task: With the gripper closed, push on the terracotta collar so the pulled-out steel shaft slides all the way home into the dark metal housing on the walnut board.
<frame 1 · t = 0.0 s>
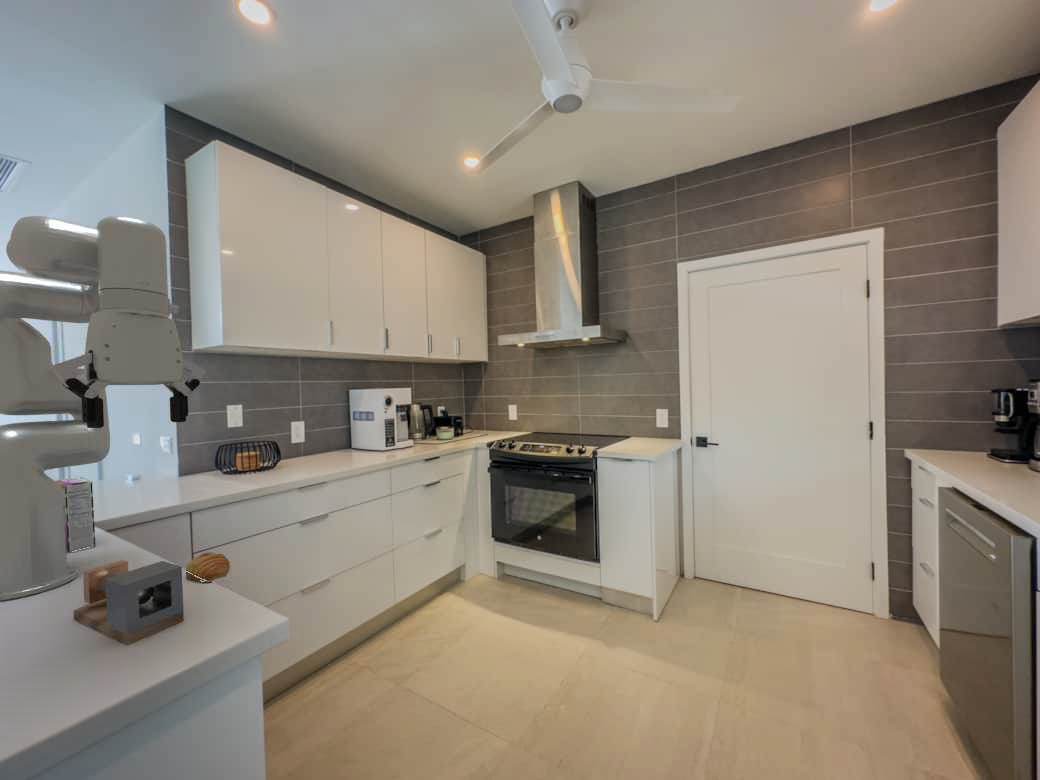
hand: (139, 424, 62), 31 cm above the counter, tool pointing down, fingers open, 9 cm apart
shaft frame: (131, 621, 67), on the counter
shaft: (122, 586, 69), point 5 cm above the counter, slide at 4.0 cm
pastry: (210, 576, 85), on the counter
candy bar box: (76, 547, 105), on the counter
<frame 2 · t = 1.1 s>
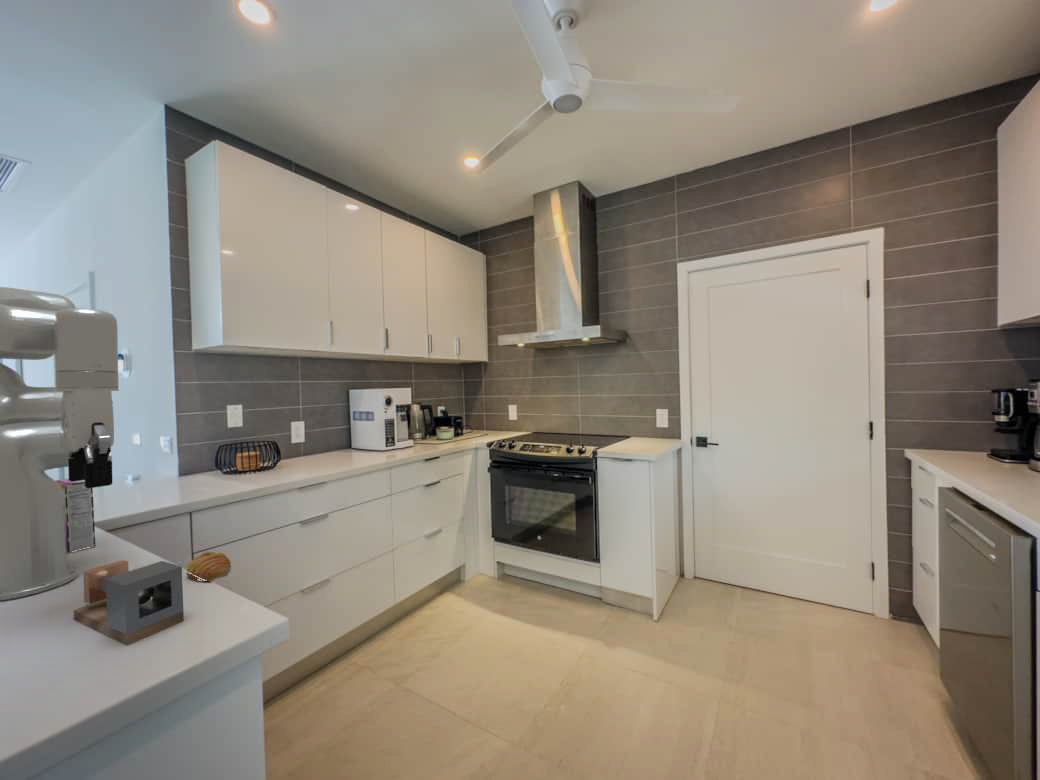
hand: (90, 483, 73), 21 cm above the counter, tool pointing down, fingers open, 9 cm apart
nothing on the counter moved.
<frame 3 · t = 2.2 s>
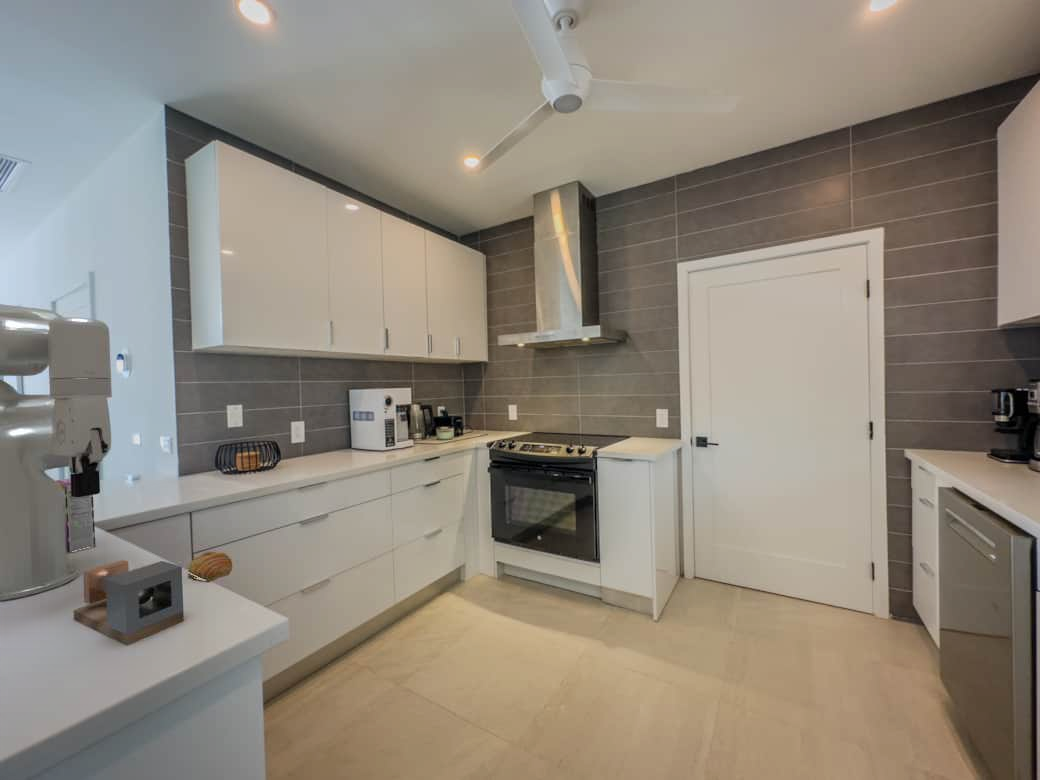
hand: (85, 495, 74), 19 cm above the counter, tool pointing down, fingers closed
nothing on the counter moved.
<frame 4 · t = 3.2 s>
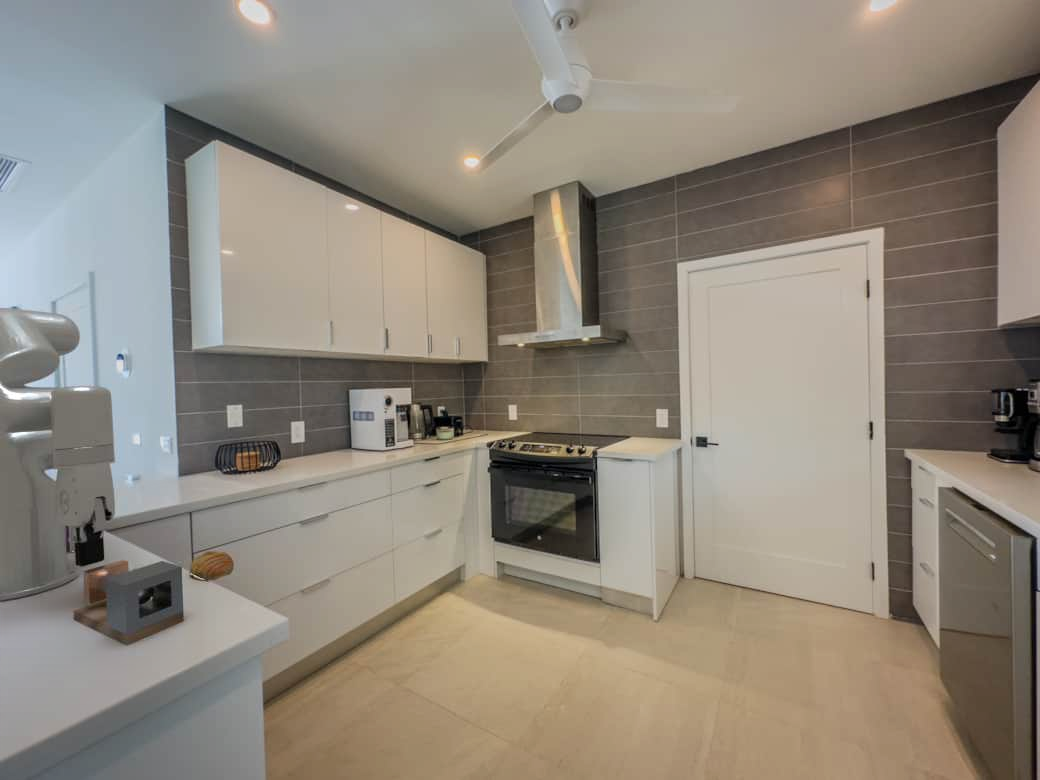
hand: (90, 563, 74), 7 cm above the counter, tool pointing down, fingers closed
nothing on the counter moved.
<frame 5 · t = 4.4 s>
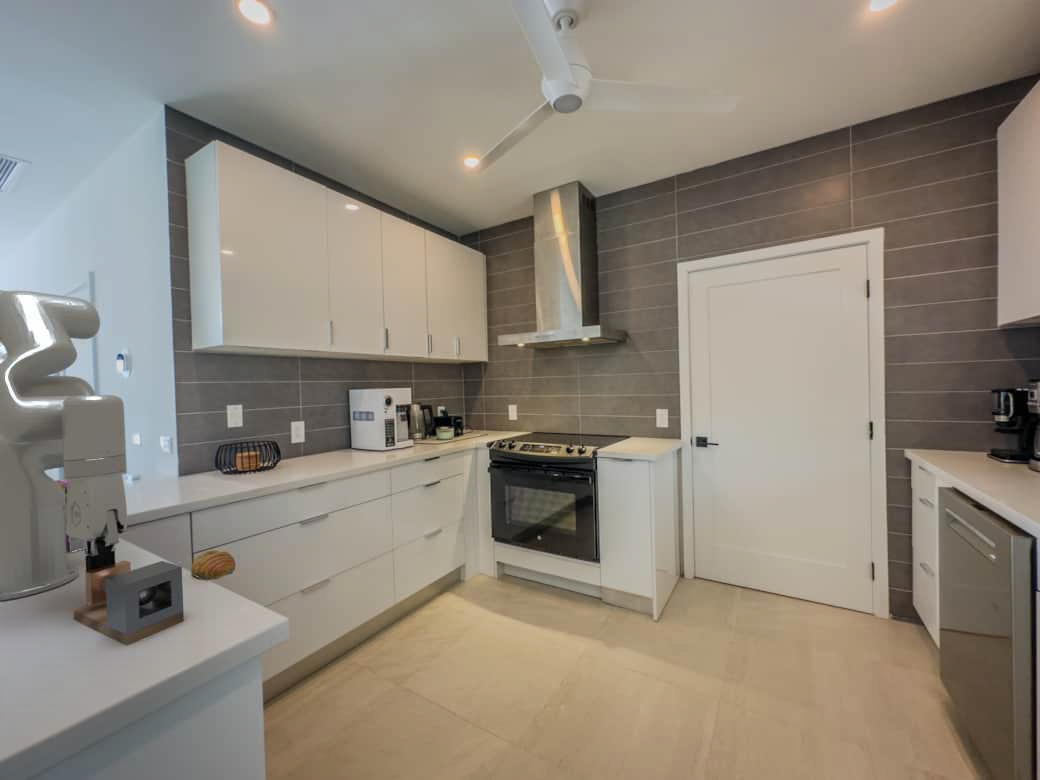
hand: (101, 576, 72), 5 cm above the counter, tool pointing down, fingers closed
shaft: (124, 587, 68), point 5 cm above the counter, slide at 3.2 cm, touching gripper
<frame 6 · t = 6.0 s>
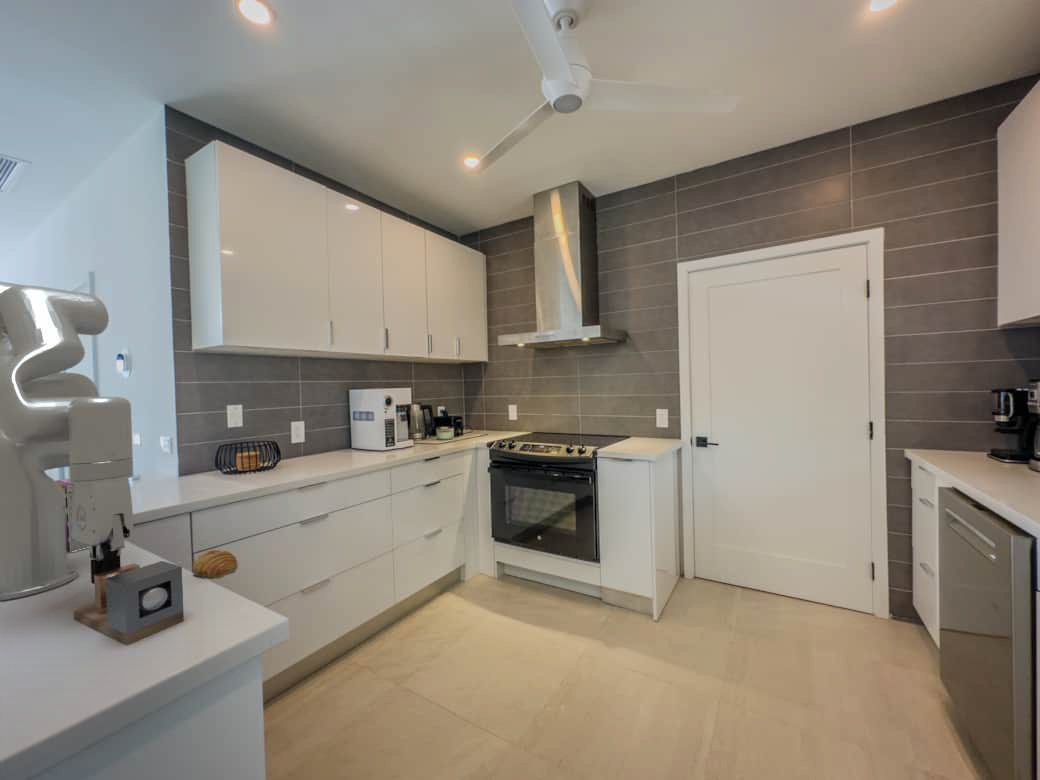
hand: (106, 581, 71), 5 cm above the counter, tool pointing down, fingers closed
shaft: (134, 591, 67), point 5 cm above the counter, slide at 0.0 cm
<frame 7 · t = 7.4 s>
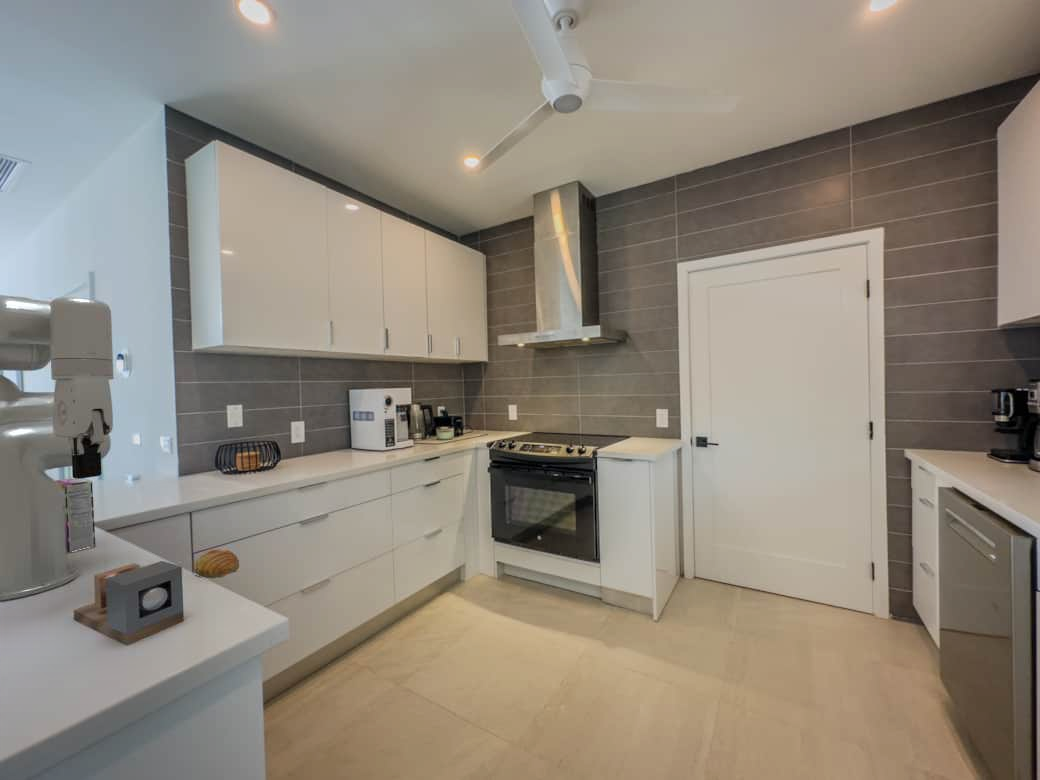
hand: (87, 476, 74), 22 cm above the counter, tool pointing down, fingers closed
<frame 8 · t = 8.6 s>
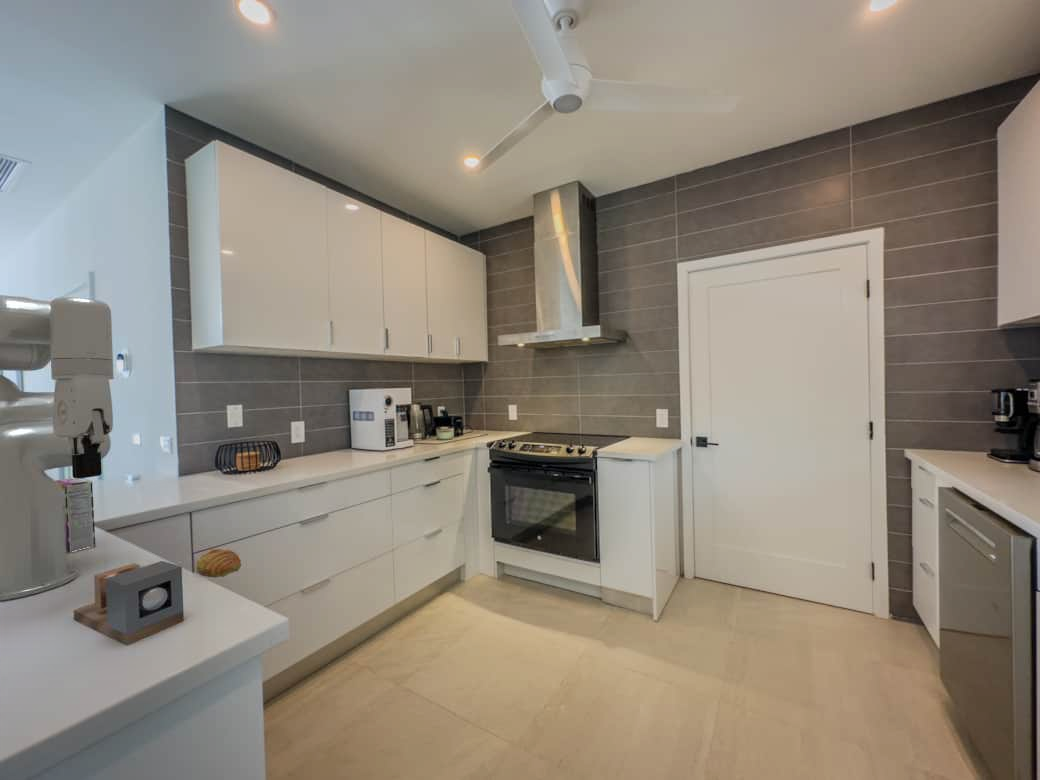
hand: (87, 476, 74), 22 cm above the counter, tool pointing down, fingers closed
at the end: shaft slide at 0.0 cm; pastry moved 2.3 cm from its start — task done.
